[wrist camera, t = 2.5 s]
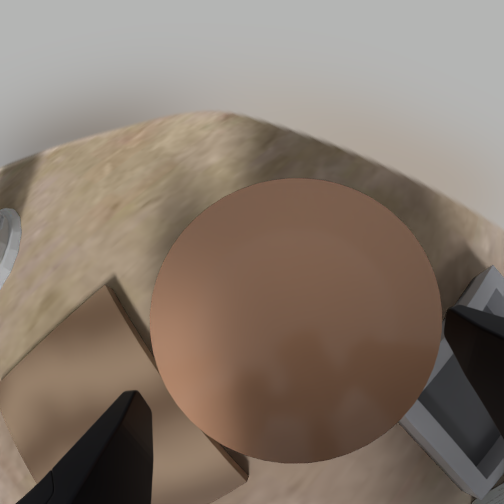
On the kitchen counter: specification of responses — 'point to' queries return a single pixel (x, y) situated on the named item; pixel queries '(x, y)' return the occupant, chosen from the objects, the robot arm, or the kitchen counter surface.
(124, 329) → the mat
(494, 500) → the skincare box
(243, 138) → the kitchen counter surface
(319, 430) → the terracotta canister
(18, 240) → the french press
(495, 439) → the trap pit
